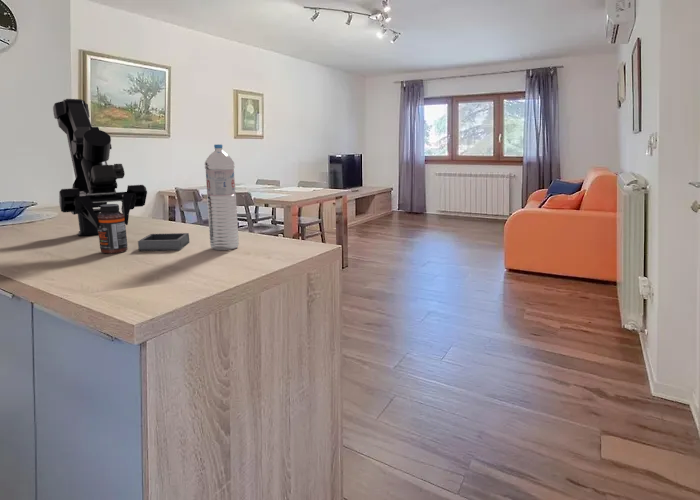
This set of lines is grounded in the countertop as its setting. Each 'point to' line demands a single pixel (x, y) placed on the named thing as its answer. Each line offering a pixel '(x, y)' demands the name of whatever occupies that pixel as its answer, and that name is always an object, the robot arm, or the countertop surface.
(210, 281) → the countertop surface
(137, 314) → the countertop surface
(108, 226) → the supplement bottle
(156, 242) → the tray
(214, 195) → the water bottle
